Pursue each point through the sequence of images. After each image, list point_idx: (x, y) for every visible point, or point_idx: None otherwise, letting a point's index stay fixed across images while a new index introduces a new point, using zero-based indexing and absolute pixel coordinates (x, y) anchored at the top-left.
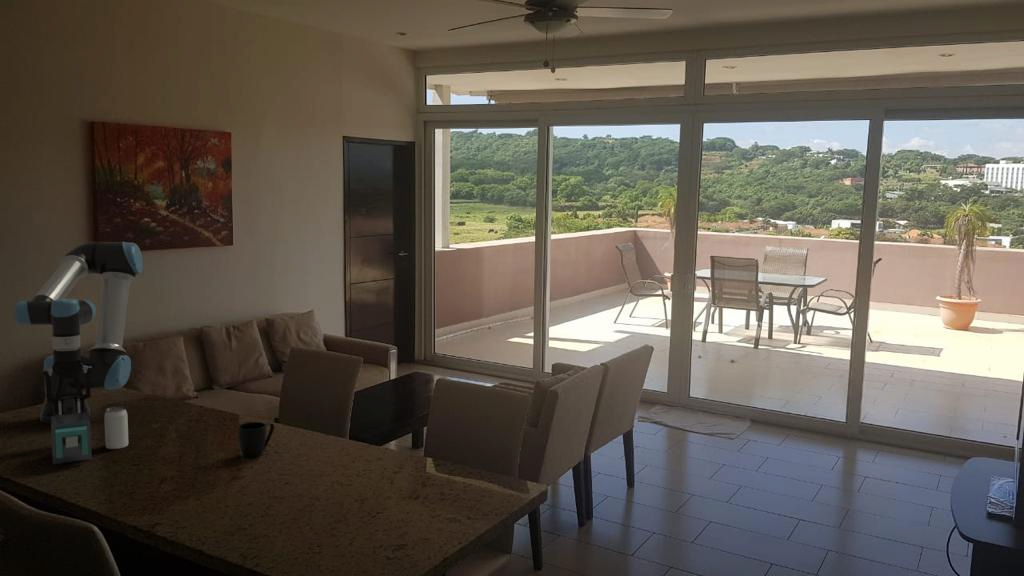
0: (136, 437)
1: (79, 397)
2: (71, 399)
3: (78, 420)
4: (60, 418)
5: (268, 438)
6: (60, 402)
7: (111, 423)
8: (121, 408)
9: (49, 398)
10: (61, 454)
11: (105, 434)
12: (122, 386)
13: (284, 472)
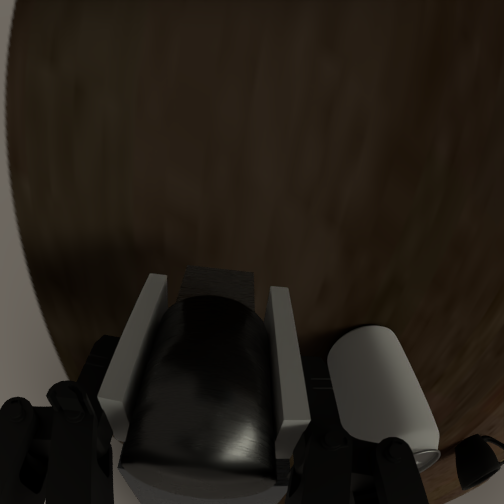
0: (451, 284)
1: (290, 487)
2: (217, 494)
3: None
4: (165, 495)
5: (497, 445)
6: (126, 429)
7: None
8: (432, 452)
9: (41, 460)
10: None
11: (336, 397)
12: None
13: (436, 476)
